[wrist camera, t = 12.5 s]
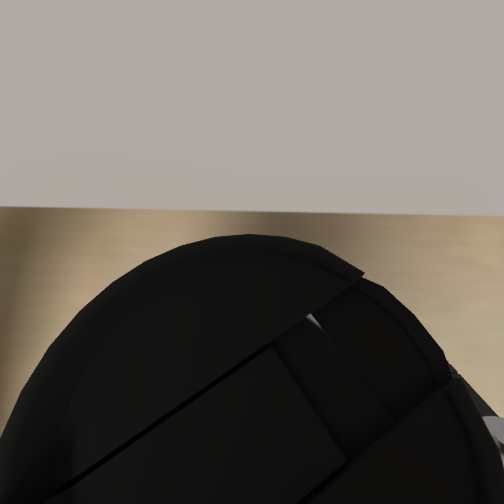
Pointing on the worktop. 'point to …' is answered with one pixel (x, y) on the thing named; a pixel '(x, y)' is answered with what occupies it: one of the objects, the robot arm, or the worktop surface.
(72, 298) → the worktop surface
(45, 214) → the worktop surface
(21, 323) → the worktop surface
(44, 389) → the travel mug
